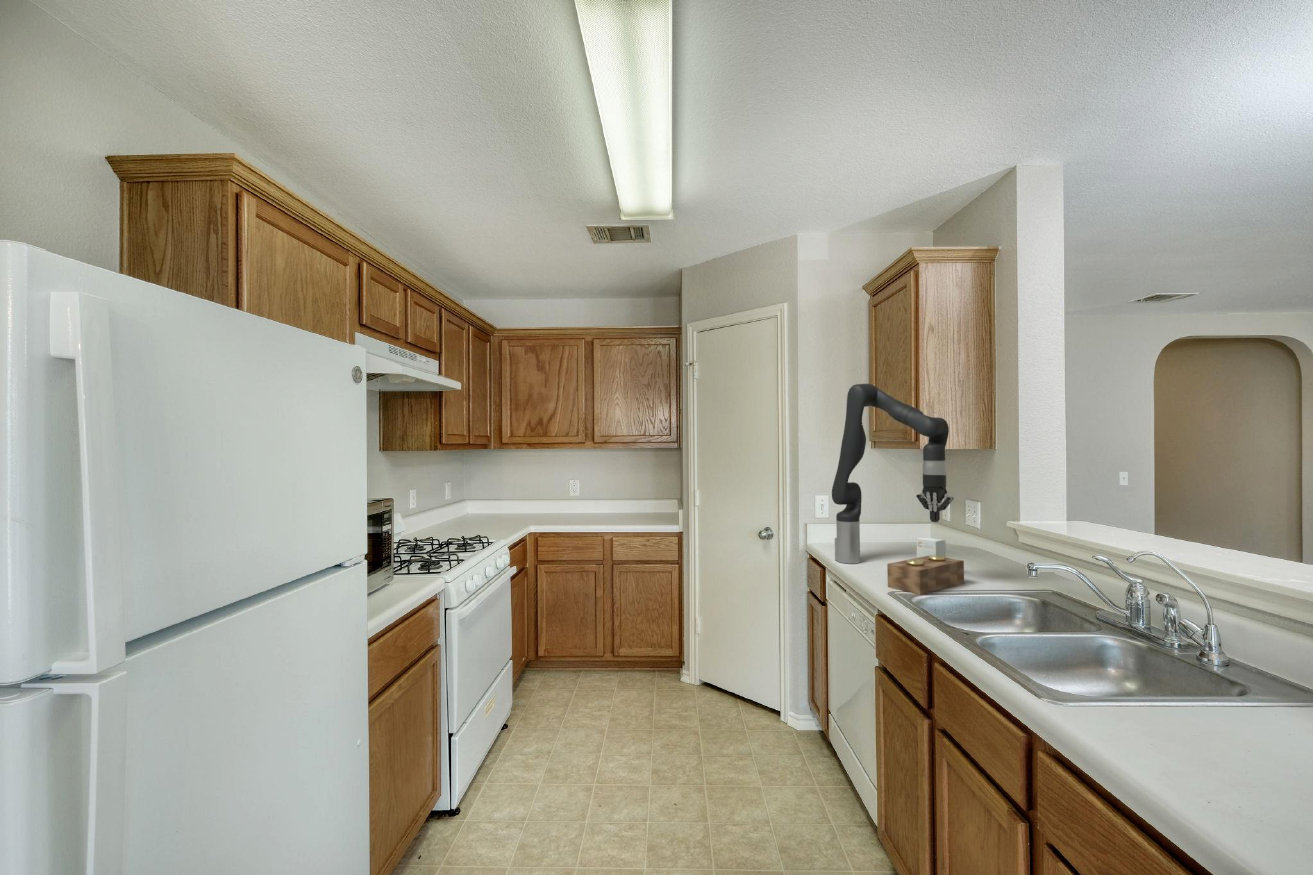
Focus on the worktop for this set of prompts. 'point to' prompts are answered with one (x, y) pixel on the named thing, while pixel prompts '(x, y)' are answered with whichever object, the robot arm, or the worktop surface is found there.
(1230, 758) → the worktop surface
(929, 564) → the socket block
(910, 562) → the plunger
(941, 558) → the plunger
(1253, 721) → the worktop surface
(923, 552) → the small box
